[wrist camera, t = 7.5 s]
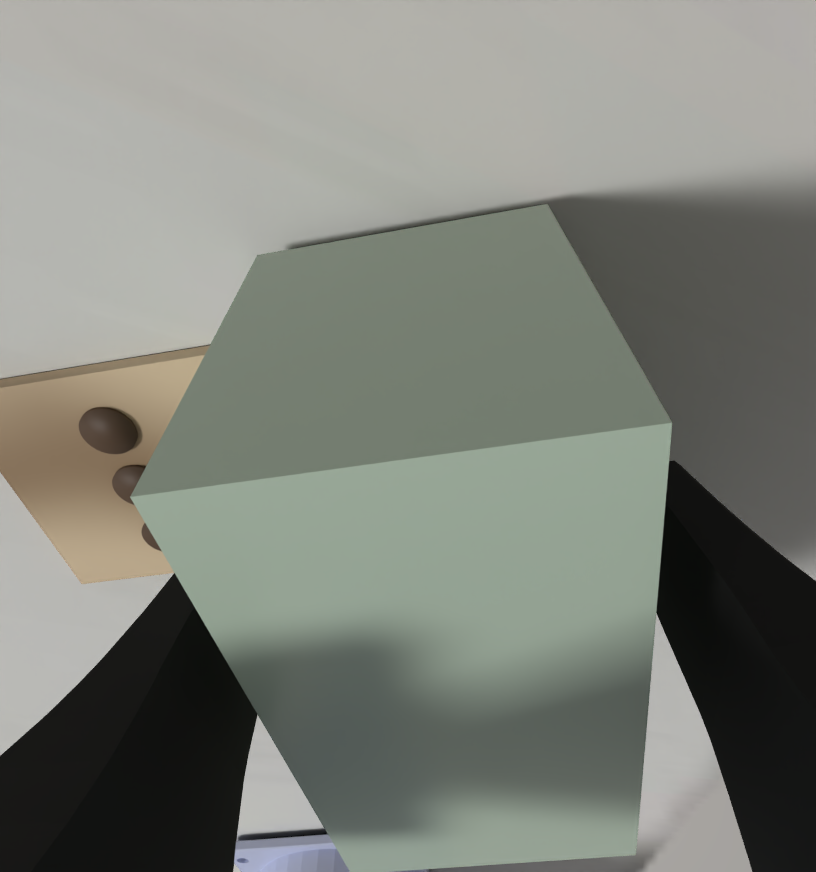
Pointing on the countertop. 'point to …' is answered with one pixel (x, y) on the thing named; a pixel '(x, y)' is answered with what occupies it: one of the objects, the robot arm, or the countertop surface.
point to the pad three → (92, 455)
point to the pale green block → (430, 538)
